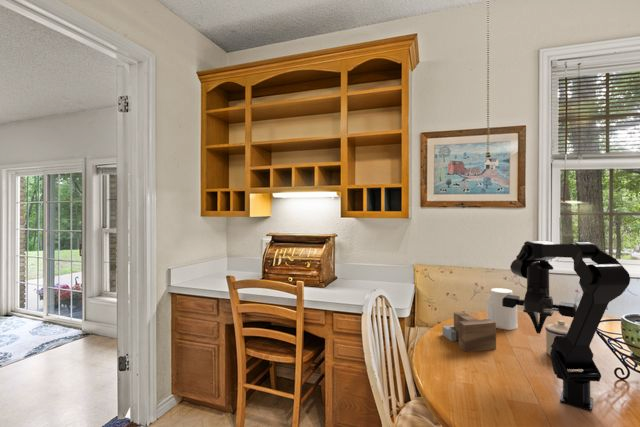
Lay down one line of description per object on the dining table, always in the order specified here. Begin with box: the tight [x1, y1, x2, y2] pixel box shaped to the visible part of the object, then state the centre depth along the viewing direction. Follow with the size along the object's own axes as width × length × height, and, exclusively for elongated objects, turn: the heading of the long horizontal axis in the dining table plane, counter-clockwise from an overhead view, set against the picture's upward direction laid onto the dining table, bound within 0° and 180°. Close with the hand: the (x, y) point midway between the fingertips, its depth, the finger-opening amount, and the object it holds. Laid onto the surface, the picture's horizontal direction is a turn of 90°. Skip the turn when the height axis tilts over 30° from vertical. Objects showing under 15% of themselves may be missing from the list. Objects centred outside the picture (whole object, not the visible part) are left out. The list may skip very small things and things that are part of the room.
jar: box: [486, 287, 519, 331], centre depth 145 cm, size 12×10×15 cm
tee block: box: [453, 311, 497, 353], centre depth 127 cm, size 14×12×10 cm
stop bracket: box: [442, 324, 457, 342], centre depth 133 cm, size 6×11×4 cm, turn 99°
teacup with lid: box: [545, 319, 570, 356], centre depth 116 cm, size 12×9×12 cm
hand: (538, 333), depth 104 cm, fingers closed
